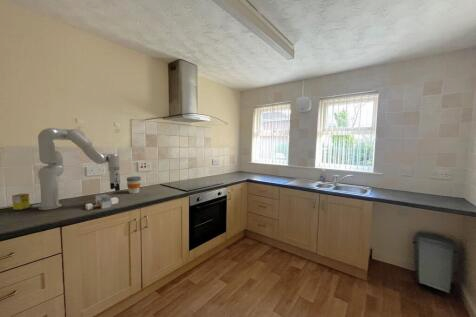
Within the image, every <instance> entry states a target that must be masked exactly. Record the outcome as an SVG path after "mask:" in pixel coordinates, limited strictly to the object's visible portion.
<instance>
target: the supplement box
mask: <svg viewBox="0 0 476 317" xmlns="http://www.w3.org/2000/svg"><path fill="white" fill-rule="evenodd" d="M11 199H12V201H11V202H12V211H25V210H27V209H30V194H29V193H18V194H14V195H13V194H12V196H11Z"/></svg>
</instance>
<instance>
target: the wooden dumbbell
mask: <svg viewBox="0 0 476 317" xmlns="http://www.w3.org/2000/svg"><path fill="white" fill-rule="evenodd" d="M119 201H120V199H119V198H118V197H111V205H115V204H119ZM98 207H100V204H96V203H95V204H94V203H85V210H88V211H89V210H93V209H94V208H98Z"/></svg>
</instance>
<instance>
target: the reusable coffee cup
mask: <svg viewBox="0 0 476 317" xmlns="http://www.w3.org/2000/svg"><path fill="white" fill-rule="evenodd" d="M141 178H142V177H141V176H128V177H126V182H127V183H126V184H127V189H128V193H129V194H137V193H140V188H141Z"/></svg>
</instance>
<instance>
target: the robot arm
mask: <svg viewBox="0 0 476 317" xmlns="http://www.w3.org/2000/svg"><path fill="white" fill-rule="evenodd" d="M54 140H57V141H58V140H59V141H71V142H72V143H74V145H76V146H77V147H78V148H80V149H81V150H82V152H83V154H85V156H87V158H89V160H91V161H92V162H94V163H95V164H96V165H101V164H106V163H107V166H108V173H109V176H108V177H109V185H110V186H109V187H110V188H109V189H110V190H114V191H115V192H118V191H121V188H120V185H121V181H122V180H121V173H120V156H119V154H118V153H101V152H99V151H98V150H96V148H95V147H94V146H93V145H94V144H93V142H92V140H90V139H89V138H87V137H86V135H85V133H84V131H82V130H80V129H76V128H75V129H74V128H71V129H68V128H67V129H65V128H56V127H47V128H45V129H42V130H41V131H39V133H38V135H37V142H38V156H39V162H40V163H41V164H44V166H42V167H41V168H39V170H38V171H37V176H38V180H39V187H40V202H39V203H37V204H36V203H35V204H32V207H31V208H38V210H40V211H49V210H54V209H58V208H60V207H62V206H63V204H62V203H60V201H59V200H60V198H59V197H60V196H59V183H58V179H57V178H58V177H59V176H61V175H63V173H64V157H63V155H62V153H61V152H59V151H57V150H56V149H55V148H56V147H55V143H54Z"/></svg>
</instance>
